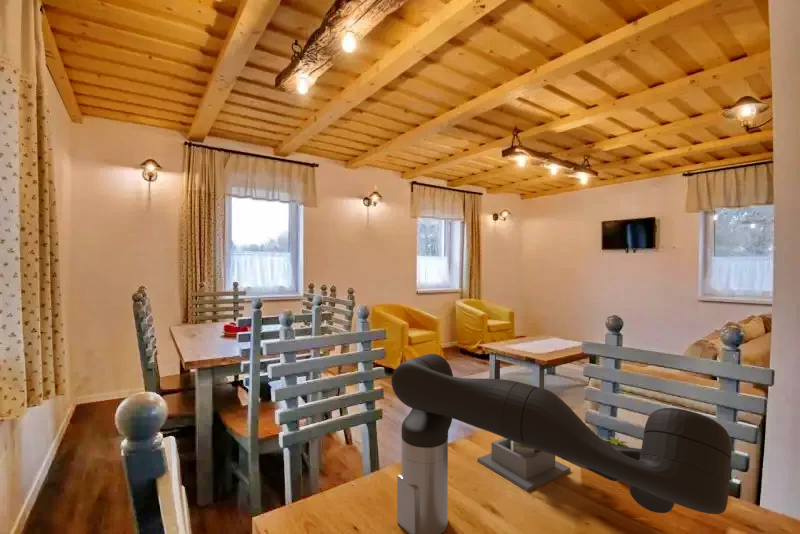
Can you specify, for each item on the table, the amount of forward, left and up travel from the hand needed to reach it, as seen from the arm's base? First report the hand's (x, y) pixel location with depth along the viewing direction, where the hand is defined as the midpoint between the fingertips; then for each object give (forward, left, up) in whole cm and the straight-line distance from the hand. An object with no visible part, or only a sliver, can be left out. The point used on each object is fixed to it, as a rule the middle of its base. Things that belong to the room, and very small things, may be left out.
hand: (517, 421), depth 103 cm
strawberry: (+16, -16, -11) cm, 26 cm away
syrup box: (0, -2, -10) cm, 11 cm away
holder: (0, -2, -11) cm, 11 cm away
